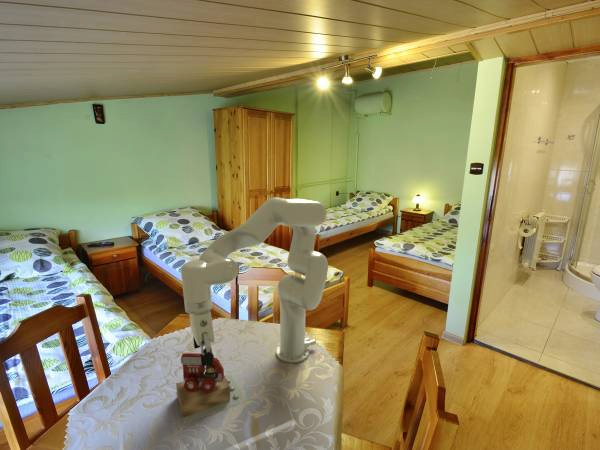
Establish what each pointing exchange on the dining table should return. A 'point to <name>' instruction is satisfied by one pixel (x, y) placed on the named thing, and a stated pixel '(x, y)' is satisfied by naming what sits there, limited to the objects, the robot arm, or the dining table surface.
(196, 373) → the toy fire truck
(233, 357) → the dining table surface
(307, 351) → the robot arm
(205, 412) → the build plate
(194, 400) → the base brick
